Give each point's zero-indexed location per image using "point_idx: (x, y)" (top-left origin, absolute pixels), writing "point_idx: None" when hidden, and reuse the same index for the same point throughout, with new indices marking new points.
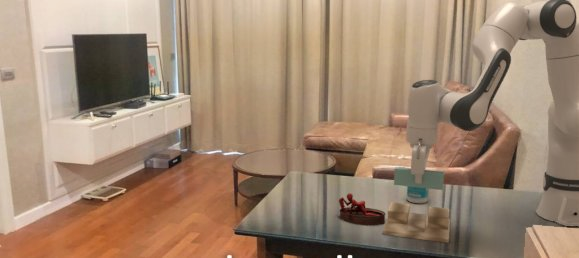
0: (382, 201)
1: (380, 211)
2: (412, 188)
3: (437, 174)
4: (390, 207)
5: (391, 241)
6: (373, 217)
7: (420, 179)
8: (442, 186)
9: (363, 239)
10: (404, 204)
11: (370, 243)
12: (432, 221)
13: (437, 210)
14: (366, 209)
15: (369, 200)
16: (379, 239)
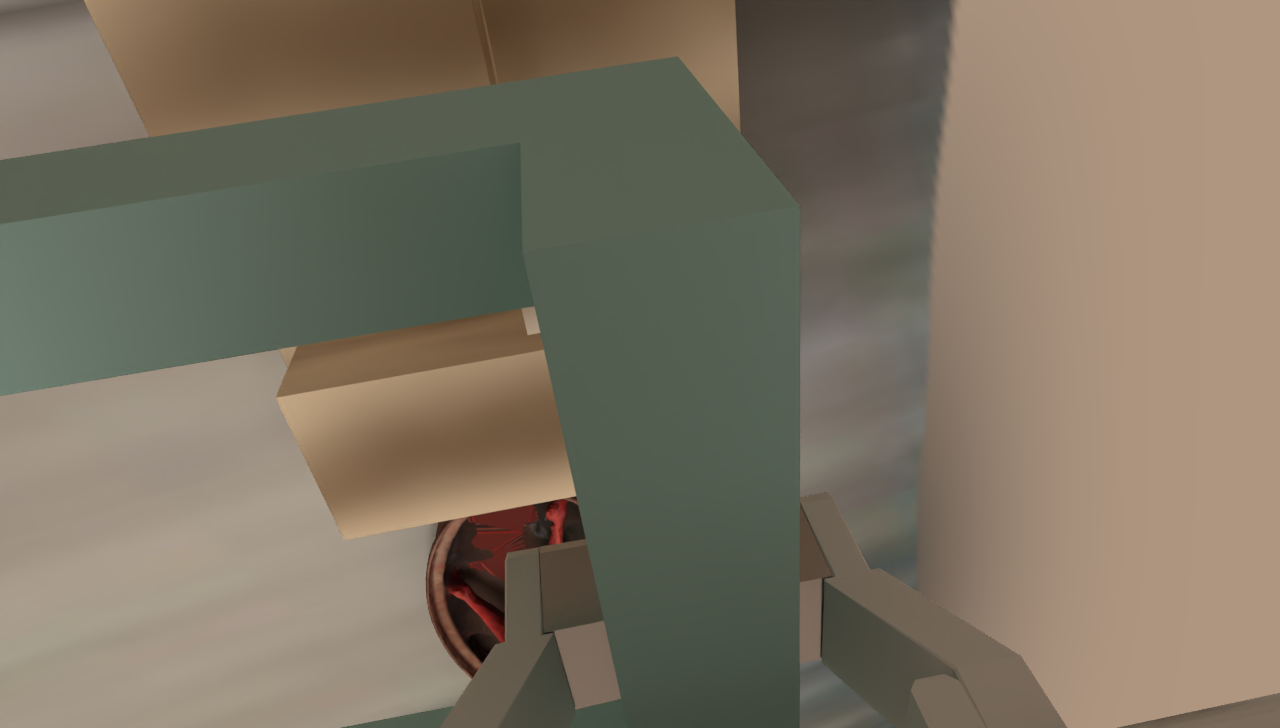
0: (71, 589)
1: (446, 529)
2: None
3: (783, 368)
4: (490, 502)
5: (849, 296)
6: None
7: (858, 557)
8: (698, 83)
9: (871, 447)
10: (324, 435)
11: (920, 396)
12: (492, 71)
13: (257, 73)
14: (439, 607)
15: (137, 654)
16: (840, 372)
